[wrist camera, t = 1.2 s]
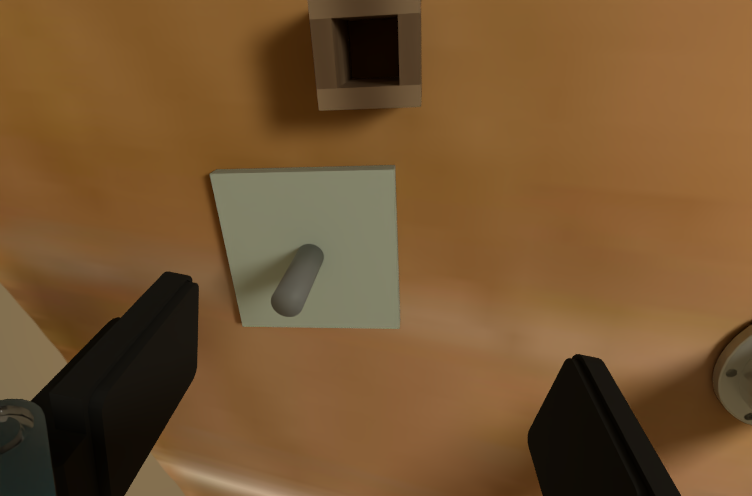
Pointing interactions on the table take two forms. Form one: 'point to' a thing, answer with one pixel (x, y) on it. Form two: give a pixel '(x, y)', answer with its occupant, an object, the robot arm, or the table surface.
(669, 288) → the table surface
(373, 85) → the collar
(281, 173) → the post board
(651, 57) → the table surface
